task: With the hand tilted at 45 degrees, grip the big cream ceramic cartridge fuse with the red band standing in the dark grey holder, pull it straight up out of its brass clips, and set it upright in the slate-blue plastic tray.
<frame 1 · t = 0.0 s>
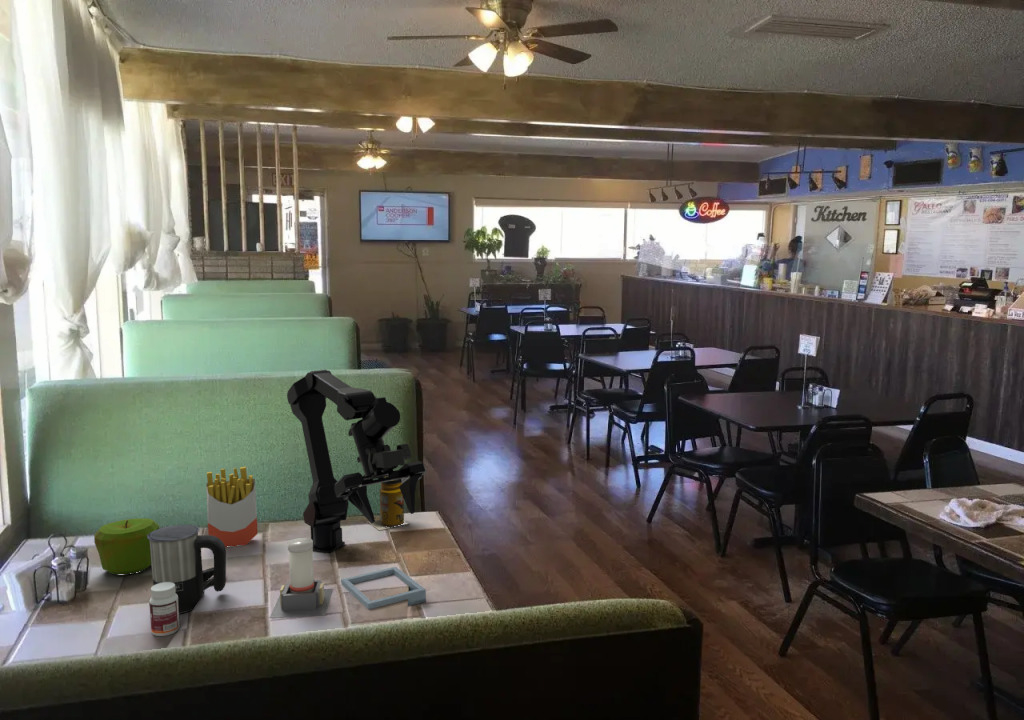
hand: (393, 518, 155), 15 cm above the table, tool tilted 35°, fingers open, 9 cm apart
pill bottle: (165, 631, 139), on the table
apple: (129, 570, 168), on the table
french fries container: (233, 544, 184), on the table
fuse holder: (302, 610, 147), on the table
fuse: (302, 602, 147), point 1 cm above the table, touching fuse holder
milk frother: (190, 597, 154), on the table
tray: (383, 596, 153), on the table
condiment: (389, 524, 198), on the table
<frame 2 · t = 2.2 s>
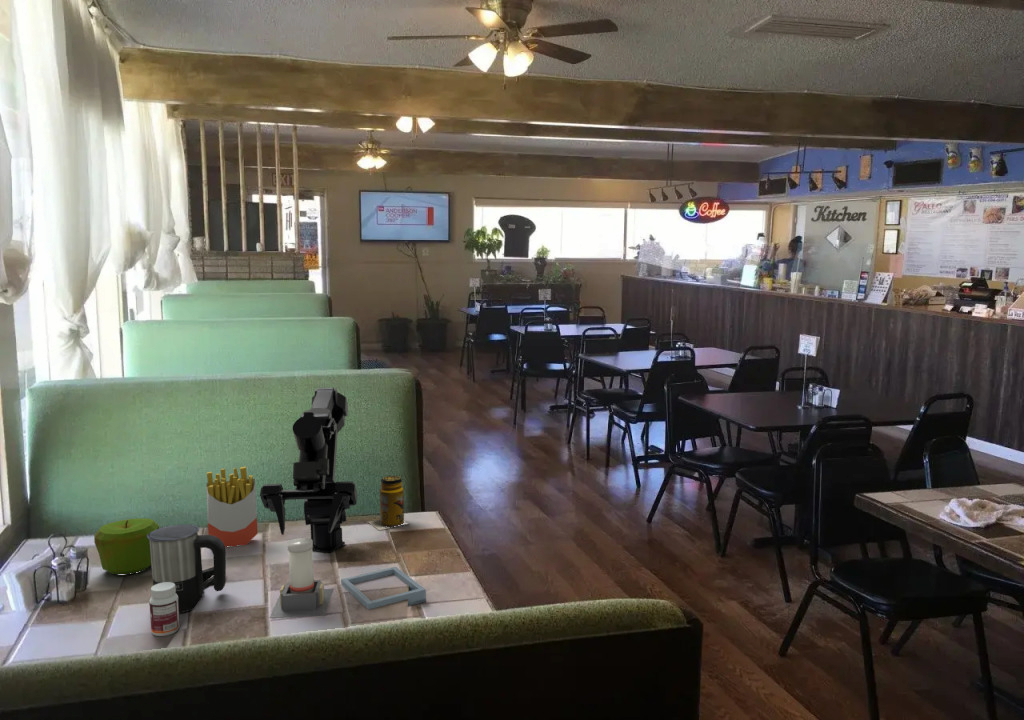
hand: (306, 532, 153), 13 cm above the table, tool tilted 45°, fingers open, 9 cm apart
nothing on the table moved.
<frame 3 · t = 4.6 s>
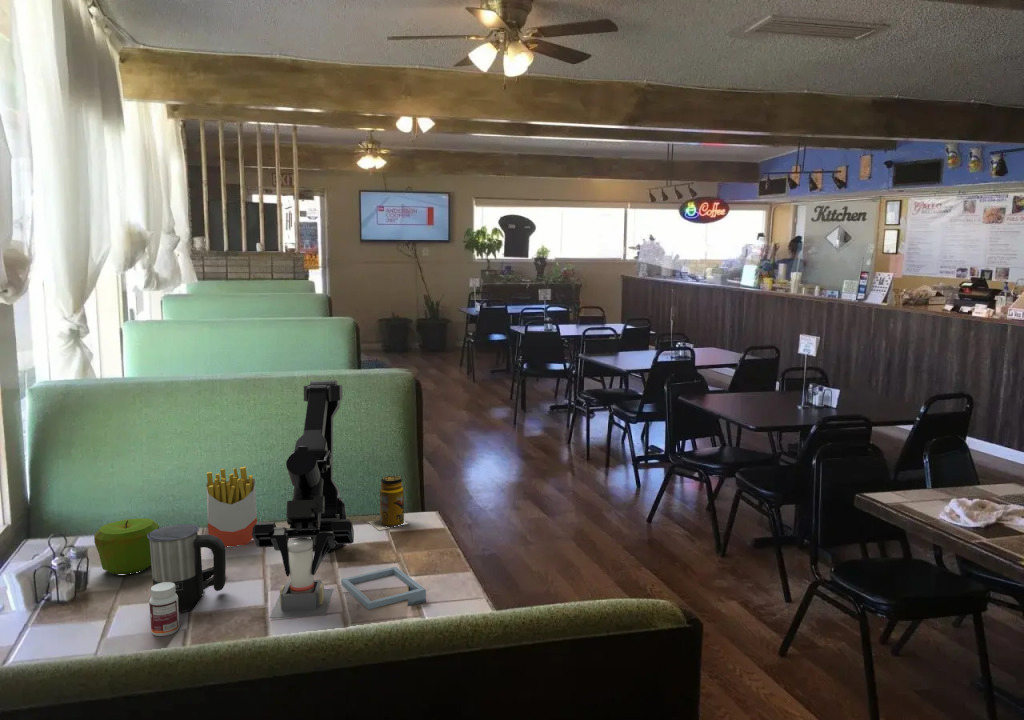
hand: (300, 574, 145), 8 cm above the table, tool tilted 45°, fingers closed on fuse, 4 cm apart
fuse: (302, 602, 147), point 2 cm above the table, touching fuse holder, gripper
everything else where it was.
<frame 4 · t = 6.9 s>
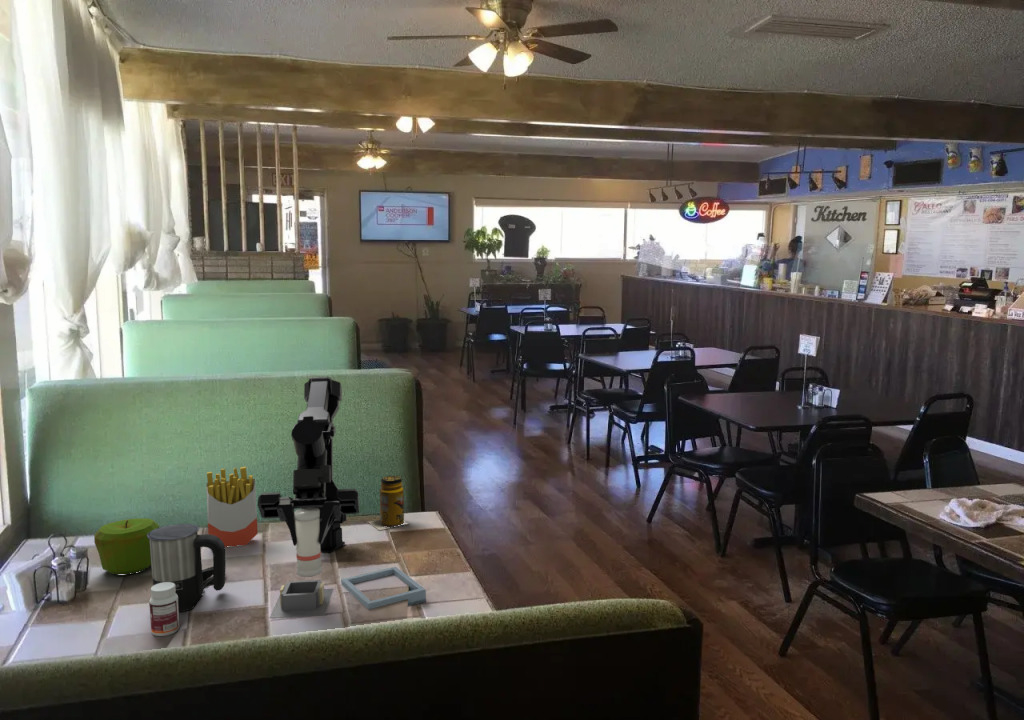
hand: (307, 544, 145), 13 cm above the table, tool tilted 45°, fingers closed on fuse, 4 cm apart
fuse: (309, 572, 147), point 7 cm above the table, touching gripper
everything else where it was.
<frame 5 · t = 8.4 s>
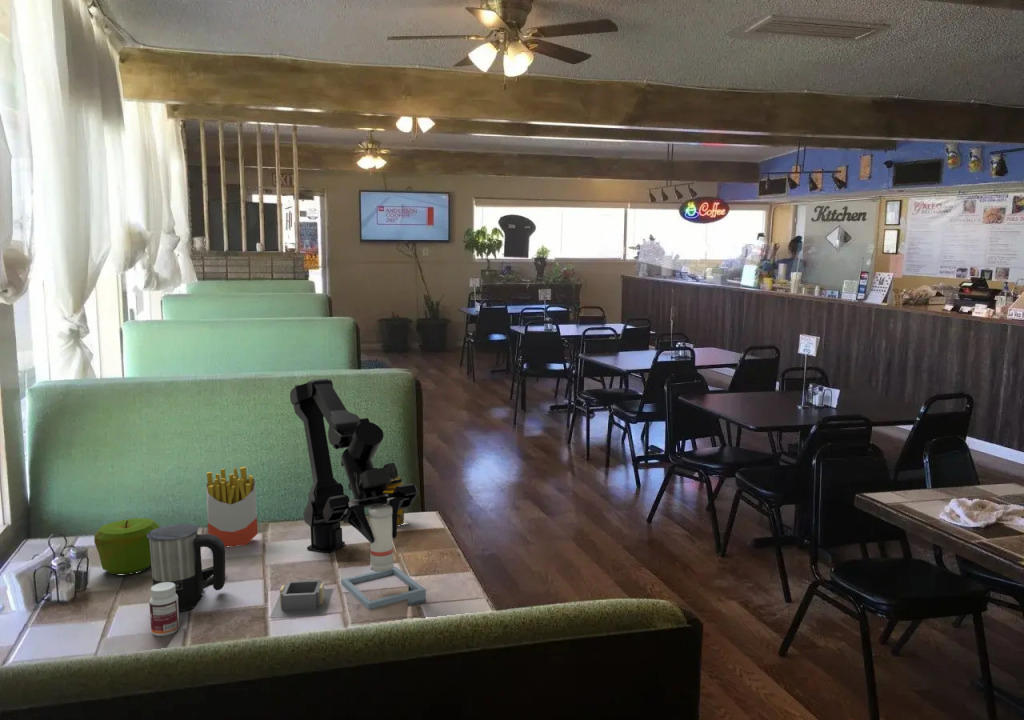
hand: (384, 539, 151), 12 cm above the table, tool tilted 45°, fingers closed on fuse, 4 cm apart
fuse: (382, 567, 153), point 6 cm above the table, touching gripper
everything else where it was.
when the fingers open (8 cm above the table, at t = 9.6 s): fuse drops 1 cm, resting on tray.
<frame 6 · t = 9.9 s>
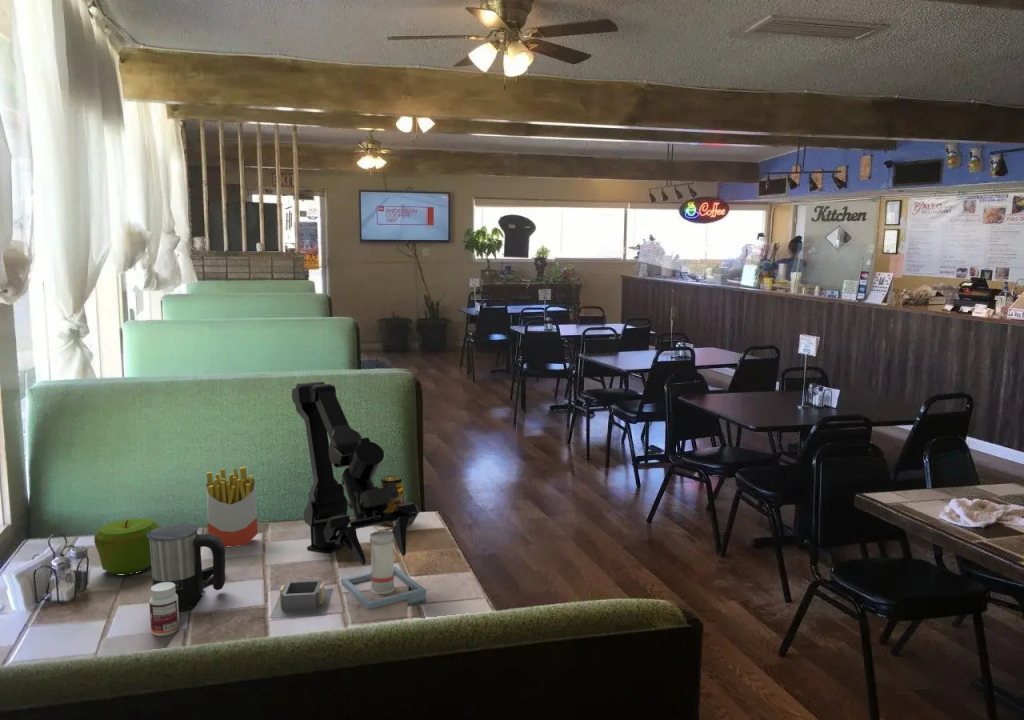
hand: (384, 559, 151), 8 cm above the table, tool tilted 45°, fingers open, 8 cm apart
fuse: (382, 593, 153), point 1 cm above the table, touching tray
everything else where it was.
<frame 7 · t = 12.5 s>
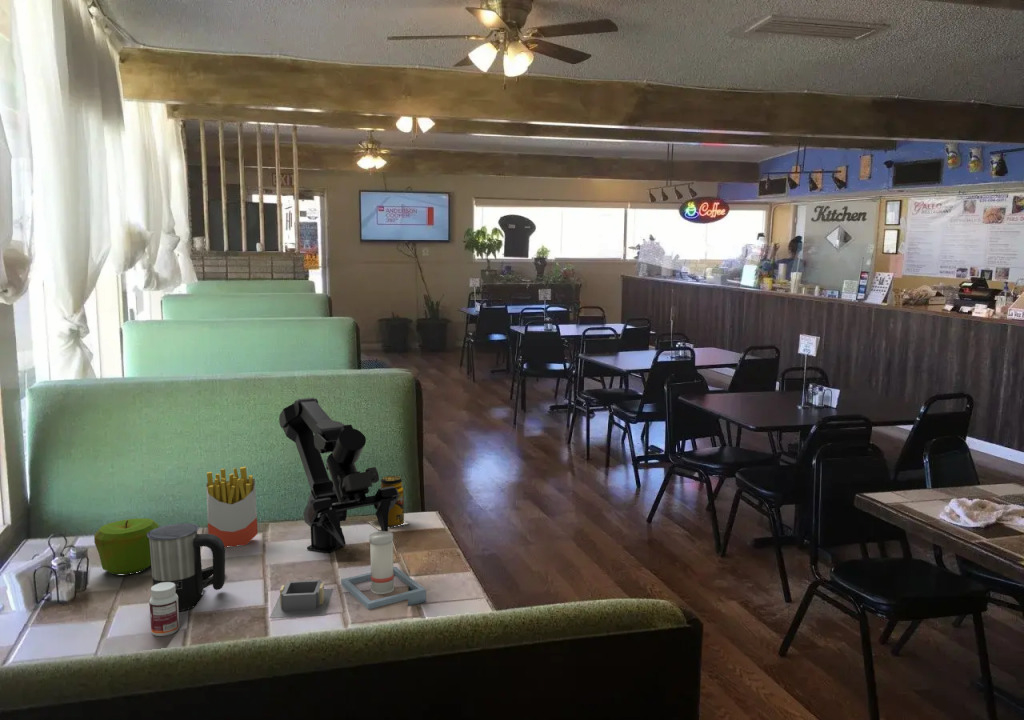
hand: (365, 540, 159), 9 cm above the table, tool tilted 45°, fingers open, 9 cm apart
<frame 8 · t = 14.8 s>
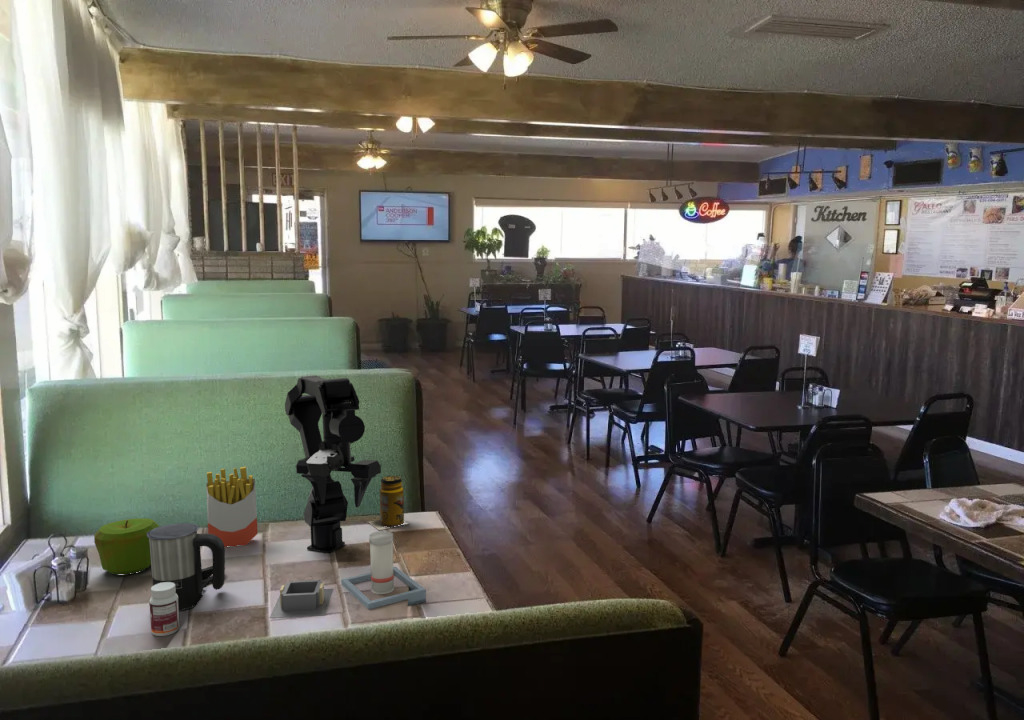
hand: (339, 505, 170), 13 cm above the table, tool pointing down, fingers open, 9 cm apart
at the end: fuse inside the target area on the tray (0.0 cm from its centre), point 0.6 cm above the tray's base; fuse tilted 0°; fuse touching tray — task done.
